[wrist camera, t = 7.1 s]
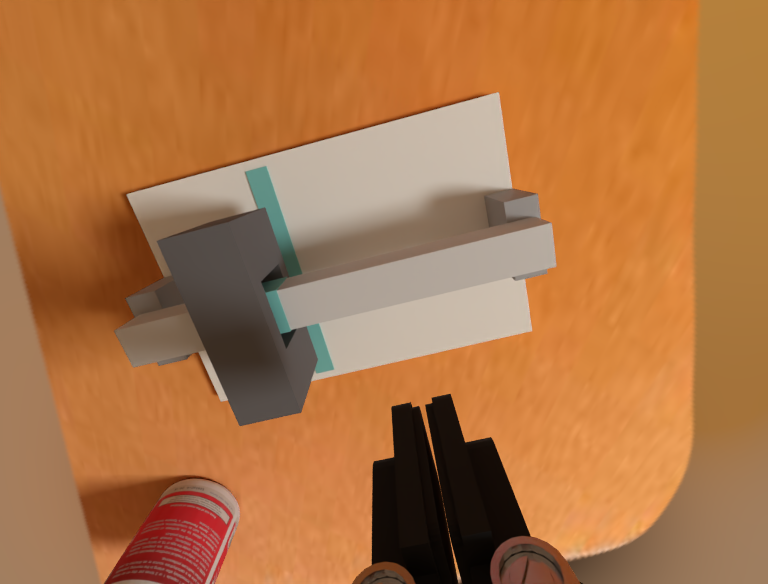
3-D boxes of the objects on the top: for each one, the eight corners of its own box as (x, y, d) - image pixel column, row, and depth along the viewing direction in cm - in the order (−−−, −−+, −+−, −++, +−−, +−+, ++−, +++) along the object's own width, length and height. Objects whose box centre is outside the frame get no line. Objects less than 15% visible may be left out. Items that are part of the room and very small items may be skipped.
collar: (210, 221, 20) (156, 240, 15) (265, 207, 20) (228, 221, 15) (269, 370, 23) (239, 426, 18) (318, 359, 22) (301, 412, 18)
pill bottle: (152, 477, 29) (23, 656, 18) (233, 471, 29) (148, 649, 18) (173, 538, 31) (67, 731, 20) (249, 533, 31) (181, 724, 20)
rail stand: (134, 193, 22) (39, 205, 16) (494, 94, 21) (542, 66, 14) (225, 394, 27) (178, 465, 20) (527, 325, 25) (575, 379, 19)
